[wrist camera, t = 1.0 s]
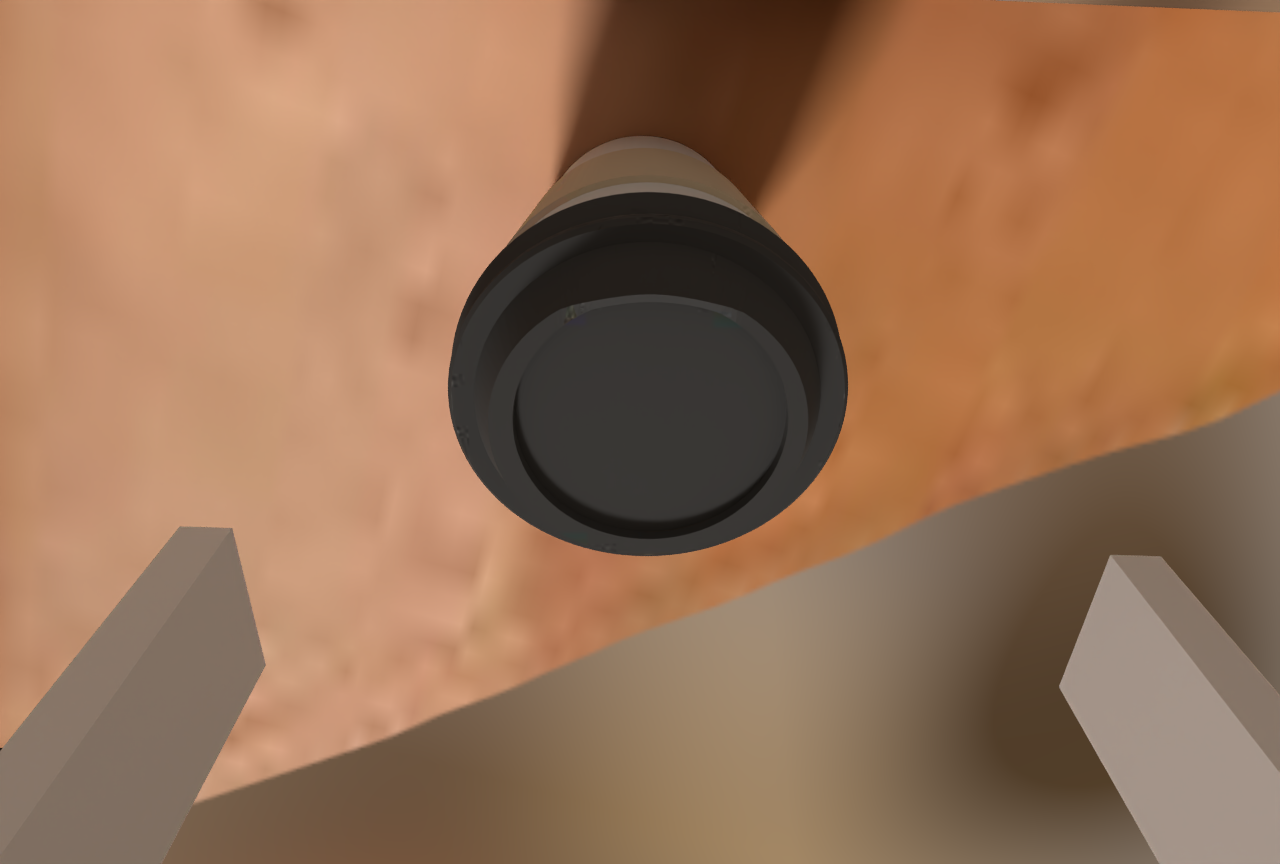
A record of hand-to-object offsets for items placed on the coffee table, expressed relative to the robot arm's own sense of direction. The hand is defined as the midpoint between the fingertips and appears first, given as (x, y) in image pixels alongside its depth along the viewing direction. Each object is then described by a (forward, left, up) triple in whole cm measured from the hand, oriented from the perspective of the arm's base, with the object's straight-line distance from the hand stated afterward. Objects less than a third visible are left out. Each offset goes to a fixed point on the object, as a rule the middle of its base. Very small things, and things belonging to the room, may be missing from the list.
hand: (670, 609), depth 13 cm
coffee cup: (0, 0, -20) cm, 20 cm away
